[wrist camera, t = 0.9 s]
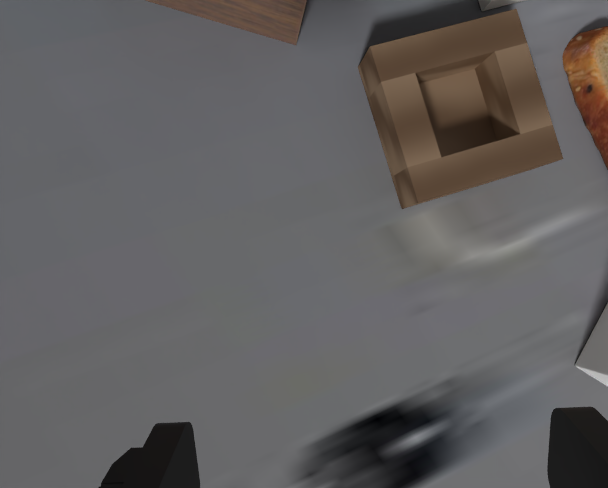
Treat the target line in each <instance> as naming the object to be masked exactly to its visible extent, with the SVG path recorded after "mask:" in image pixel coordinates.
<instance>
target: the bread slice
mask: <svg viewBox="0 0 608 488" xmlns="http://www.w3.org/2000/svg"><path fill="white" fill-rule="evenodd" d="M563 65H564V70H565V72H566V73H567V76H568V81H569V85H570V87H571V90H572V93H573V96H574V100H575V104H576V106H577V107H578V109H579V111H580V113H581V115H582V118H583V121H584V124H585V126H586V127H587V129H588V130H589V132H590V133H591V135H592V137H593V140H594V143H595V145H596V147H597V148H598V150H599V151H600V153H601V156H602V158H603V161H604V163H605V165H606V167H607V169H608V26H606V27H601V28H597V29H593V30H590V31H587V32H583V33H579V34H577V35H576V36H575V37H574V38H572V39H571V41H570V42H569V44H568V45H567V47H566V48H565V50H564V53H563Z"/></svg>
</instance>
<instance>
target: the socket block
mask: <svg viewBox="0 0 608 488" xmlns="http://www.w3.org/2000/svg"><path fill="white" fill-rule="evenodd" d="M358 69H359V72H360V76H361V79H362V82H363V85H364V88H365V92H366V95H367V98H368V101H369V105H370V108H371V111H372V114H373V117H374V121H375V124H376V127H377V130H378V134H379V137H380V140H381V143H382V147H383V150H384V153H385V156H386V159H387V163H388V166H389V169H390V172H391V176H392V179H393V182H394V185H395V189H396V192H397V195H398V198H399V201H400V205H401V208H402V209H404V208H407V207H410V206H413V205H417V204H420V203H423V202H427V201H430V200H433V199H436V198H440V197H443V196H446V195H449V194H453V193H456V192H459V191H463V190H466V189H469V188H472V187H476V186H479V185H482V184H485V183H489V182H492V181H495V180H499V179H502V178H505V177H508V176H512V175H515V174H518V173H521V172H525V171H528V170H531V169H535V168H537V167H540V166H543V165H546V164H549V163H552V162H555V161H558V160H561V159H563V157H562V153H561V150H560V147H559V144H558V141H557V137H556V134H555V131H554V128H553V125H552V121H551V118H550V115H549V112H548V109H547V105H546V102H545V99H544V96H543V93H542V89H541V86H540V83H539V80H538V77H537V73H536V70H535V67H534V64H533V61H532V57H531V54H530V51H529V48H528V45H527V41H526V38H525V35H524V32H523V29H522V25H521V22H520V19H519V16H518V13H517V9H514V10H510V11H506V12H502V13H498V14H494V15H490V16H486V17H482V18H479V19H475V20H471V21H467V22H463V23H459V24H455V25H451V26H447V27H444V28H440V29H436V30H432V31H428V32H424V33H420V34H416V35H412V36H409V37H405V38H401V39H397V40H393V41H389V42H385V43H381V44H377V45H374V46H370V47H369V49H368V51H367V52H366V54H365V56H364V58H363V59H362V61H361V63H360V65H359V66H358Z"/></svg>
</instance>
